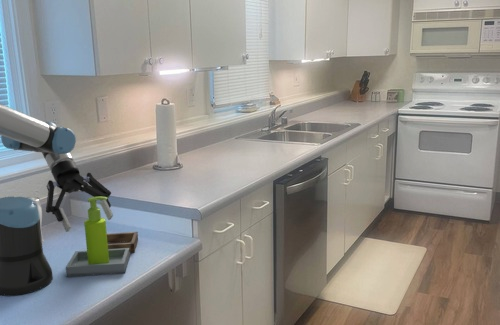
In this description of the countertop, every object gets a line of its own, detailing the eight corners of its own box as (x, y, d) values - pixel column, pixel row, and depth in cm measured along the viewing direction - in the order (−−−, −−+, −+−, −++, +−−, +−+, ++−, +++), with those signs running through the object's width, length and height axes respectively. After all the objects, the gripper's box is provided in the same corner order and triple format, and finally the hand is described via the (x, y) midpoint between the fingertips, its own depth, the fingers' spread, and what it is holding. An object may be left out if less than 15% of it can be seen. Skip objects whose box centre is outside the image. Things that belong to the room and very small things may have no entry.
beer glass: (24, 240, 168) (19, 197, 165) (46, 237, 170) (41, 195, 167) (21, 247, 162) (16, 203, 159) (44, 244, 164) (39, 201, 161)
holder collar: (95, 255, 153) (94, 246, 153) (101, 242, 164) (100, 234, 164) (134, 252, 155) (133, 243, 154) (138, 240, 166) (137, 231, 165)
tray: (66, 277, 138) (65, 267, 137) (76, 260, 150) (75, 251, 149) (124, 273, 140) (124, 263, 139) (129, 257, 151) (129, 247, 151)
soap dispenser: (113, 264, 143) (108, 198, 139) (89, 268, 141) (82, 201, 137) (111, 257, 149) (106, 193, 145) (87, 261, 146) (81, 196, 142)
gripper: (95, 165, 164) (122, 219, 157) (19, 180, 147) (46, 241, 140) (102, 152, 159) (131, 206, 152) (24, 166, 142) (52, 228, 135)
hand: (90, 223), depth 146 cm, fingers open, 13 cm apart
